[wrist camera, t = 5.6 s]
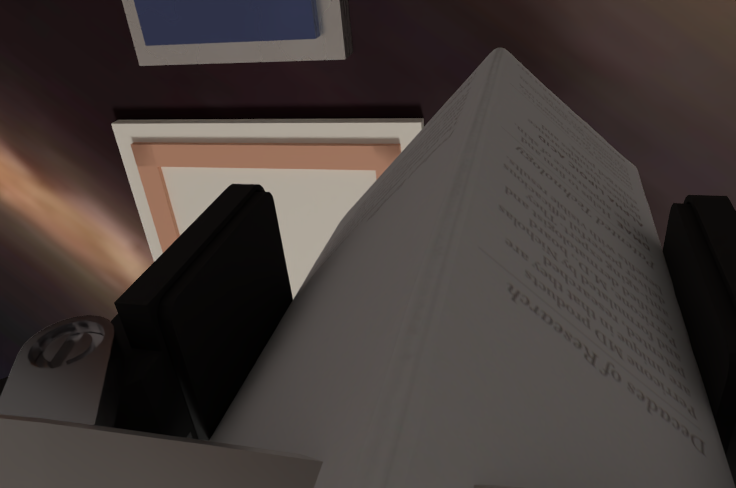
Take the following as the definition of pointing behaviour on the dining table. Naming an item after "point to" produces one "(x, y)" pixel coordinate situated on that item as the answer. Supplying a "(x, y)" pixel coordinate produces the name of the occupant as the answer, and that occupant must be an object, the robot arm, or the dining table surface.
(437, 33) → the dining table surface
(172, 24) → the ink pad
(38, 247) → the dining table surface
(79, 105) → the dining table surface
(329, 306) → the skincare box
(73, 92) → the dining table surface
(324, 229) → the white square board
